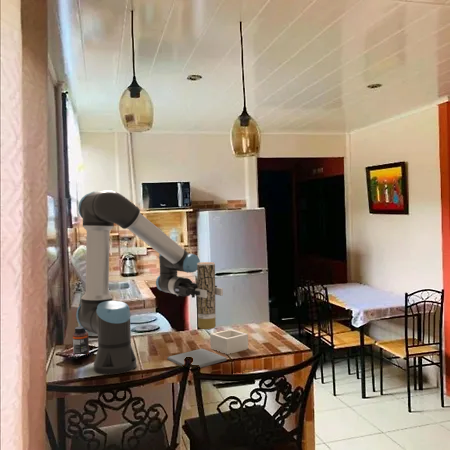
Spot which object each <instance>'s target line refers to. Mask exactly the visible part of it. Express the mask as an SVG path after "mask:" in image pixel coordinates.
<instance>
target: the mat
mask: <svg viewBox="0 0 450 450" xmlns="http://www.w3.org/2000/svg"><path fill="white" fill-rule="evenodd" d="M186 357H192V358H193V363H192V365H199V366H200V368H203V367H204V368H205V367H208V366H211V365H215V364H218V363H221V362H226V361H227V360H228V358H227V357H225V356H223V355H220V354H217V353H215V352H212V351H210V350H207V349H205V348H198V349H194V350H190V351H187V352H181V353H177V354H175V355H170V356H167V360H168V361H170V362H172V363H174V364H176V365H179V366H180V367H183V366H182V365H184V359H185V358H186Z"/></svg>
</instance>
